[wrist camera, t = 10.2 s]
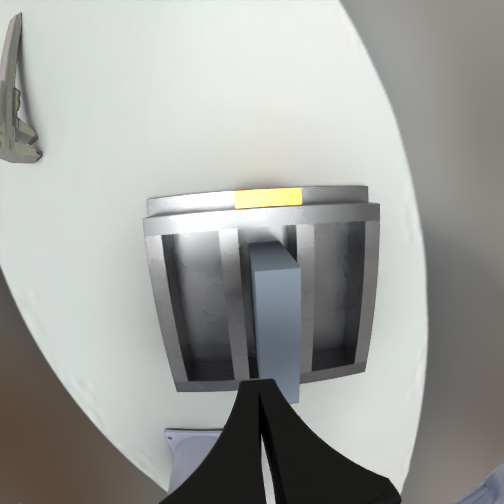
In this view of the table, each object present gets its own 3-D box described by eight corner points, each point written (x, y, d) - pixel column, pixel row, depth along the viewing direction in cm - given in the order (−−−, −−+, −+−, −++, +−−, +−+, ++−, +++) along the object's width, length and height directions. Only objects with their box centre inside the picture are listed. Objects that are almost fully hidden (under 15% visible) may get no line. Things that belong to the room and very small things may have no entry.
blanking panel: (282, 347, 19) (298, 402, 14) (255, 350, 19) (263, 407, 14) (279, 240, 18) (300, 267, 12) (248, 243, 18) (254, 271, 12)
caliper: (46, 156, 16) (-9, 152, 10) (37, 164, 16) (-17, 162, 10) (23, 13, 11) (-7, -7, 5) (16, 19, 11) (-15, 1, 5)
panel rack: (354, 358, 21) (376, 391, 16) (179, 376, 20) (170, 415, 16) (364, 186, 18) (399, 187, 13) (148, 199, 17) (122, 203, 13)
